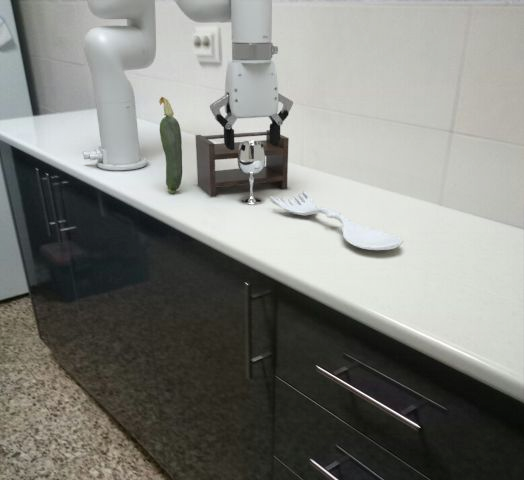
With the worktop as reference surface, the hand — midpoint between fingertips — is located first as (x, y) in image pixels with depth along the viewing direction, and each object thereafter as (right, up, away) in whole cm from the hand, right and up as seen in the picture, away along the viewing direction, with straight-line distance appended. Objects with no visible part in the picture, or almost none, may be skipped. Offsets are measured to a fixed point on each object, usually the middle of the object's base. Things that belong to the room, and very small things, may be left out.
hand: (252, 146), depth 119 cm
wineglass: (0, -10, +6) cm, 12 cm away
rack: (-3, -4, +15) cm, 16 cm away
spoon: (+16, -19, -9) cm, 27 cm away
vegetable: (-17, -7, +10) cm, 21 cm away
